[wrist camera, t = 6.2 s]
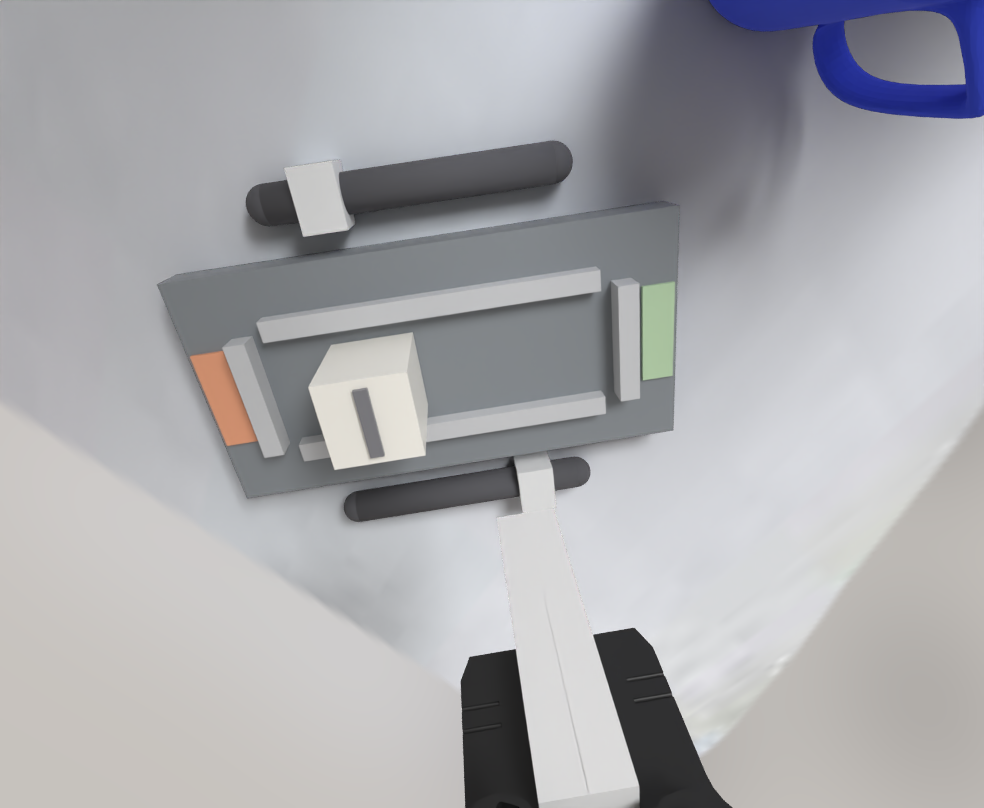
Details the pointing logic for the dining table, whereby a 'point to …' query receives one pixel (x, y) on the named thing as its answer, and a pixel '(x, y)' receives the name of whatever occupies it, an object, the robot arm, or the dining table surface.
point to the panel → (445, 340)
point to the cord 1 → (400, 185)
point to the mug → (828, 3)
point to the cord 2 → (474, 488)
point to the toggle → (371, 401)
